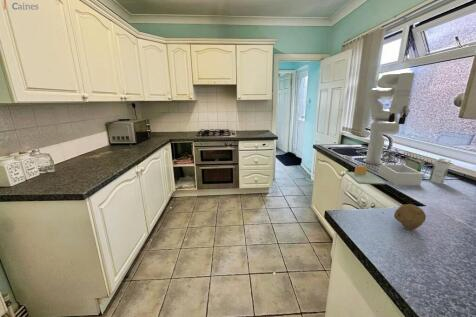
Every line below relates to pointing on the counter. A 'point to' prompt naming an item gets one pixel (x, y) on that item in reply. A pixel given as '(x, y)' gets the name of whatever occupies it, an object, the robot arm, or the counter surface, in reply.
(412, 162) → the food container
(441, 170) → the syrup box
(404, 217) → the natural sponge
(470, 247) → the counter surface
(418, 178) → the tub
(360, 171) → the lid
